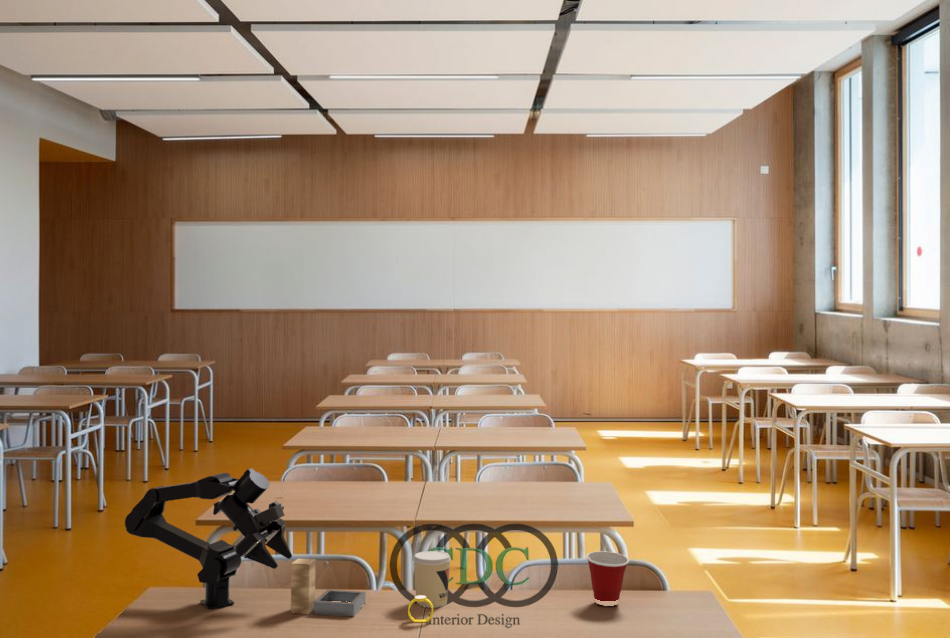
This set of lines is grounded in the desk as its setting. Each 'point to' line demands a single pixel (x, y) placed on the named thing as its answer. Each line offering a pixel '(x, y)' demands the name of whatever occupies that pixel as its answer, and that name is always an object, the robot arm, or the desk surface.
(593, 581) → the plastic cup
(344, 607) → the grey square tray
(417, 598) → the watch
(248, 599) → the desk surface
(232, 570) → the robot arm
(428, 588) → the coffee cup
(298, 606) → the rectangular block
